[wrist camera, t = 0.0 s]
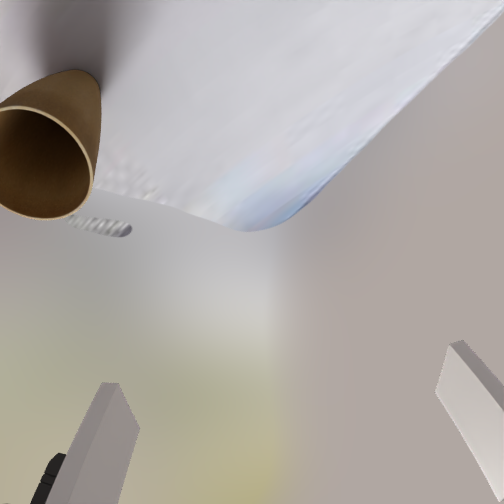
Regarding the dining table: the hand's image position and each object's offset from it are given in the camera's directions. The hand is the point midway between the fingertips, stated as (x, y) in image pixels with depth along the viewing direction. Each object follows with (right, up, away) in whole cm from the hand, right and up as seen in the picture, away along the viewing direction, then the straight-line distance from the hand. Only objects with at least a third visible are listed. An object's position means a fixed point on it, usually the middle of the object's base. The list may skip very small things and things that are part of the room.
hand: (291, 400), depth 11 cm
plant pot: (-24, +26, +22) cm, 42 cm away
